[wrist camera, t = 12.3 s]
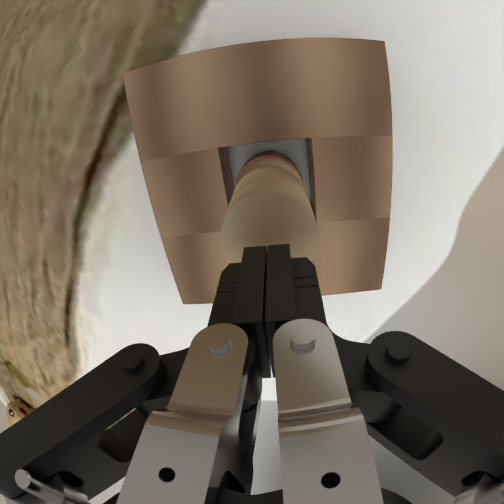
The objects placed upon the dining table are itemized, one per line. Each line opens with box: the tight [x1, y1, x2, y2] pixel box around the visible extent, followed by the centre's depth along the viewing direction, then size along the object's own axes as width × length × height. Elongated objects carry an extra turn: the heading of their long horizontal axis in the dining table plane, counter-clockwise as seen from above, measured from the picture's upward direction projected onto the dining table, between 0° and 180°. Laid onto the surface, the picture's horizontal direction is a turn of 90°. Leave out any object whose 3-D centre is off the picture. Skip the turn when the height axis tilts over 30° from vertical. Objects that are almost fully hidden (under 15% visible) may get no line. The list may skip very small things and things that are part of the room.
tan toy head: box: [7, 398, 34, 427], centre depth 52 cm, size 10×12×11 cm
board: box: [123, 38, 392, 304], centre depth 19 cm, size 16×18×3 cm
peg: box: [220, 152, 319, 263], centre depth 16 cm, size 4×4×10 cm
